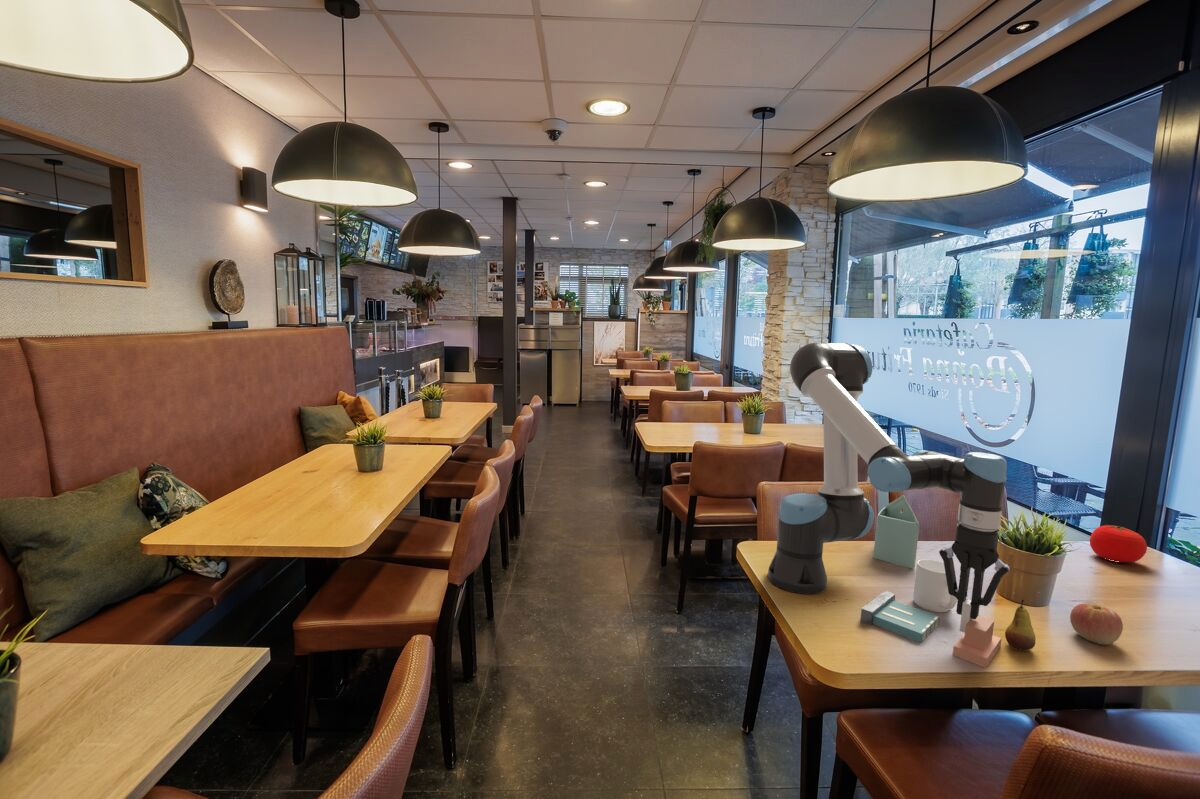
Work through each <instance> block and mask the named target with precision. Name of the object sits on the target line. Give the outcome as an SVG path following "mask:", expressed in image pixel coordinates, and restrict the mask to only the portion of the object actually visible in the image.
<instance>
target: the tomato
mask: <svg viewBox="0 0 1200 799" xmlns="http://www.w3.org/2000/svg"><path fill="white" fill-rule="evenodd" d="M1089 536H1090V537H1089V546H1090V547H1091V549H1092V551H1093V552H1094V554H1096V555H1097V556H1098V557H1100V556H1101V557H1100V558H1102V557H1103V558H1102V559H1104V558H1106V559H1110V560H1114V561H1119V562H1130V563H1135V562H1138V561H1139V560H1141V559H1143V557H1144V556H1145V554H1146V553H1147V550H1148V545H1147V542H1146V540H1145V538H1144V536H1142V535H1141V534H1139V533H1138V532H1136V531H1133V530H1131V529H1128V528H1125V526H1120V525H1110V524H1106V523H1105V525H1101V526H1098V527H1096V528H1095V529H1094V530H1093V531H1092V533H1091V535H1089ZM1106 559H1105V560H1106Z"/></svg>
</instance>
